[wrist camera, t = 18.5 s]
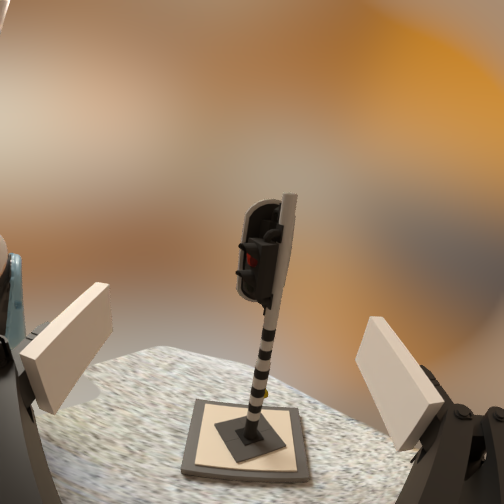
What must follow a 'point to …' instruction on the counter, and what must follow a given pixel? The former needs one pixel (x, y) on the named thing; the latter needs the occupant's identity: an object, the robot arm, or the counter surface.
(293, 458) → the plate
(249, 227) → the miniature traffic light
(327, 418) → the counter surface
